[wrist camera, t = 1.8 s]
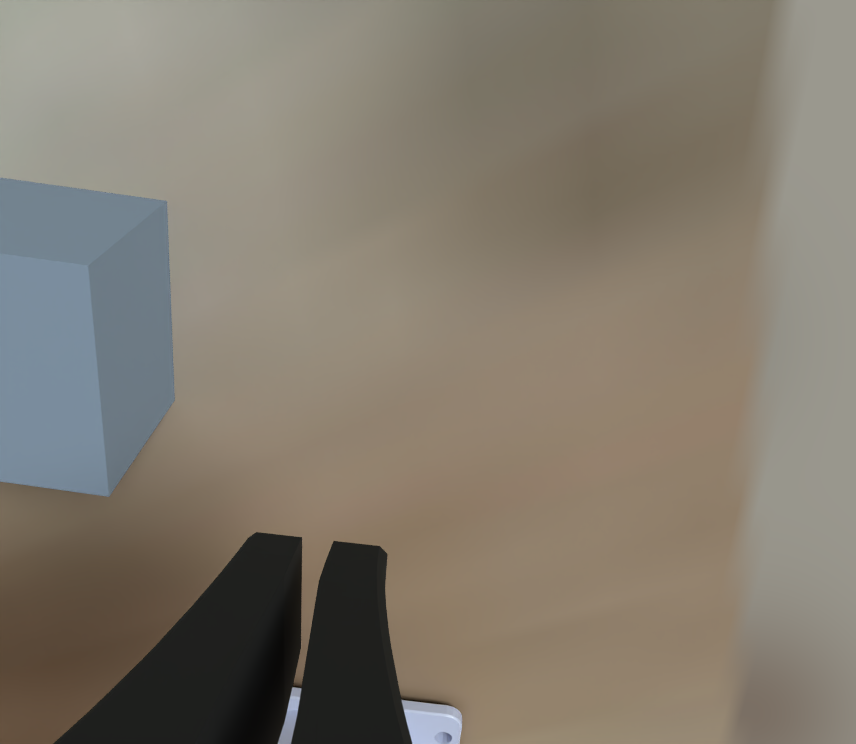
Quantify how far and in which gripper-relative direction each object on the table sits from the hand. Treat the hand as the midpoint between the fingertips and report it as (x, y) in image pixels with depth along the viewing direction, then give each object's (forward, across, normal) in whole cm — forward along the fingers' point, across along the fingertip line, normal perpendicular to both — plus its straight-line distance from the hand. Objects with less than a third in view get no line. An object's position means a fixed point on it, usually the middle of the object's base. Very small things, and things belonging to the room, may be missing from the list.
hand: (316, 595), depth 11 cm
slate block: (+9, +8, 0) cm, 12 cm away
